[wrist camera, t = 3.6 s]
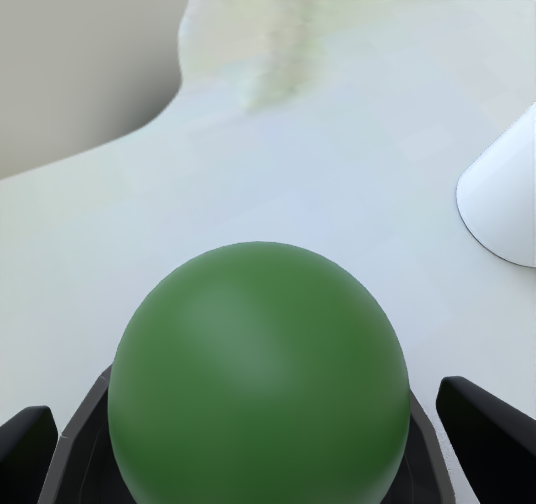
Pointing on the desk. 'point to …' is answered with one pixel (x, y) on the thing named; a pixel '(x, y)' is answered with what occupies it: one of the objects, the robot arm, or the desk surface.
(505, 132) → the pill bottle
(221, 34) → the desk surface
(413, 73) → the desk surface
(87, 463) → the pan
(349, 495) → the broccoli
